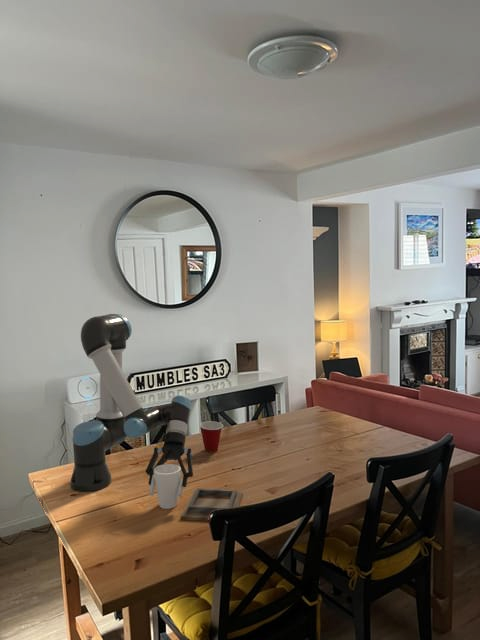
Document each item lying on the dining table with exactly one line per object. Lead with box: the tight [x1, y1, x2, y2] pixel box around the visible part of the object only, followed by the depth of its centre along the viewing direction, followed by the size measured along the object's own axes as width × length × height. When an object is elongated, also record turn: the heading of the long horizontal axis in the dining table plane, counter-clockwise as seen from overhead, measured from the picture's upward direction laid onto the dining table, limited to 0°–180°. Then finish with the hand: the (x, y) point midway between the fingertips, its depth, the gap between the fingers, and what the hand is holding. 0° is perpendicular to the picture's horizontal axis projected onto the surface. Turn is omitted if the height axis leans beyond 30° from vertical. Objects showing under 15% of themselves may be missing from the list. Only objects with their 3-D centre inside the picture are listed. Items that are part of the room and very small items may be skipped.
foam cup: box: [153, 463, 182, 510], centre depth 184 cm, size 10×9×13 cm
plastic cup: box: [199, 420, 224, 453], centre depth 237 cm, size 11×11×12 cm
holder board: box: [180, 488, 244, 522], centre depth 182 cm, size 18×20×3 cm
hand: (165, 495), depth 181 cm, fingers closed on foam cup, 9 cm apart
